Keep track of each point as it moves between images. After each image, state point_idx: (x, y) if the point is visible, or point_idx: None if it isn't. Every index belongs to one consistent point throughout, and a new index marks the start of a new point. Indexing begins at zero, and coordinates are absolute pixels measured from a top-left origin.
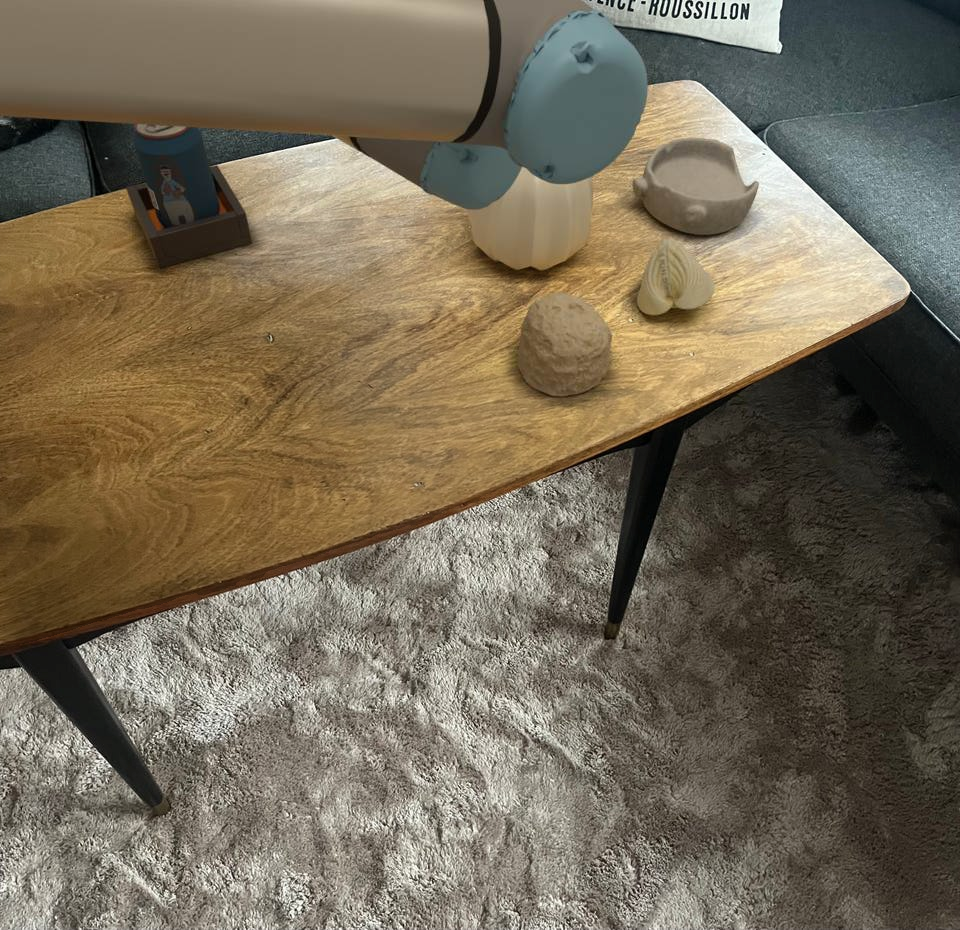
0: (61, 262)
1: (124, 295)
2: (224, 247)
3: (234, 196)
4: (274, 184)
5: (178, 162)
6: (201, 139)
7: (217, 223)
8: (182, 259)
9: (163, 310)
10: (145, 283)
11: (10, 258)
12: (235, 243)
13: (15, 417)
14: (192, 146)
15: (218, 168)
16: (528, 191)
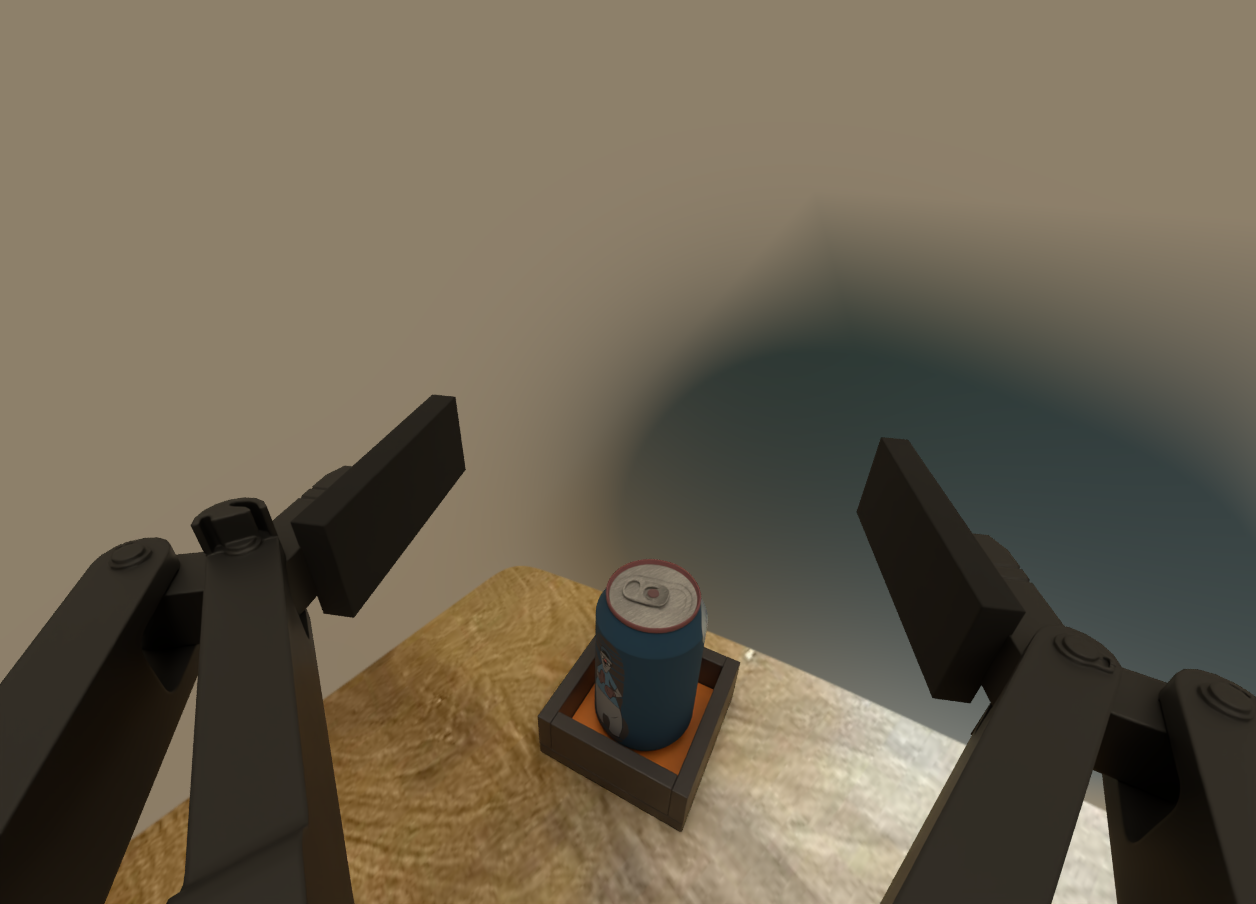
0: (490, 638)
1: (462, 755)
2: (635, 802)
3: (705, 744)
4: (813, 737)
5: (625, 663)
6: (689, 652)
7: (637, 774)
8: (571, 766)
9: (453, 842)
10: (501, 759)
11: (471, 593)
12: (654, 812)
13: (135, 846)
14: (659, 658)
15: (736, 669)
16: None
